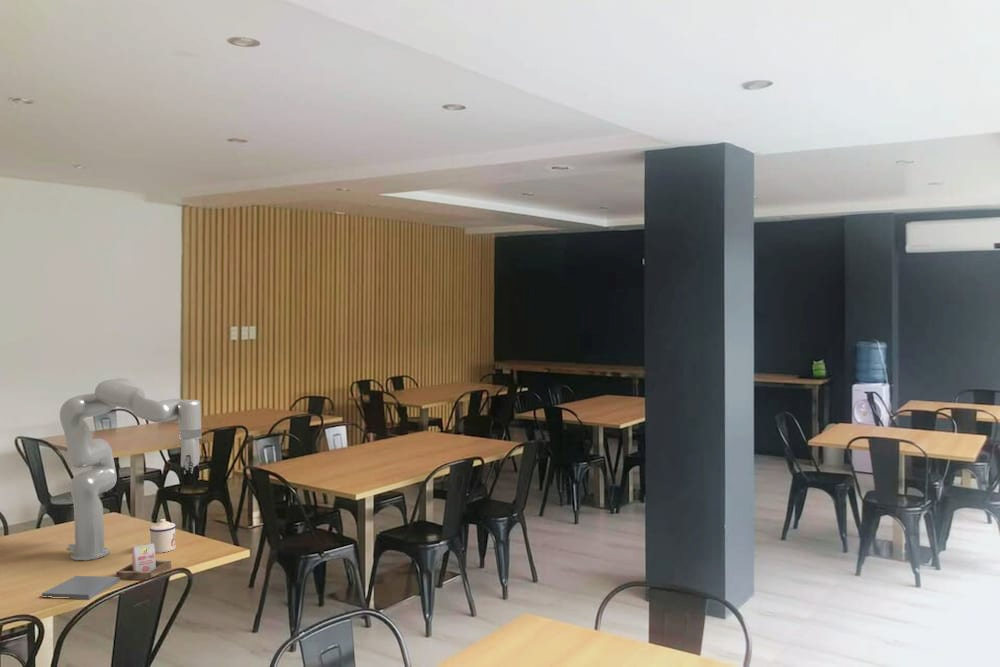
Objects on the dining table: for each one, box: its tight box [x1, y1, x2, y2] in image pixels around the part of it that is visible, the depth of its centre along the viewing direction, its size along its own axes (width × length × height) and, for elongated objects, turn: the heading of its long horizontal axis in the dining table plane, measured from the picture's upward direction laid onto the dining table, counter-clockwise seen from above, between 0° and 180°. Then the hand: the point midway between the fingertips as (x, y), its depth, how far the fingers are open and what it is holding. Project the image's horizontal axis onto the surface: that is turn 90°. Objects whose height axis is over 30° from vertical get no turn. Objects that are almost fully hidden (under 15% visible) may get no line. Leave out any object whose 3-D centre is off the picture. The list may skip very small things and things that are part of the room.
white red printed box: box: [131, 543, 157, 572], centre depth 271 cm, size 4×7×10 cm, turn 123°
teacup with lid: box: [149, 518, 177, 554], centre depth 299 cm, size 12×9×12 cm
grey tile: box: [41, 575, 121, 600], centre depth 257 cm, size 16×16×2 cm
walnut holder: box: [115, 560, 172, 581], centre depth 271 cm, size 12×12×2 cm
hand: (192, 481), depth 282 cm, fingers open, 9 cm apart
